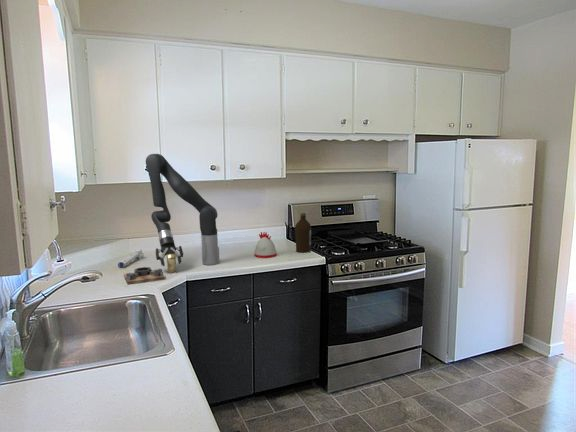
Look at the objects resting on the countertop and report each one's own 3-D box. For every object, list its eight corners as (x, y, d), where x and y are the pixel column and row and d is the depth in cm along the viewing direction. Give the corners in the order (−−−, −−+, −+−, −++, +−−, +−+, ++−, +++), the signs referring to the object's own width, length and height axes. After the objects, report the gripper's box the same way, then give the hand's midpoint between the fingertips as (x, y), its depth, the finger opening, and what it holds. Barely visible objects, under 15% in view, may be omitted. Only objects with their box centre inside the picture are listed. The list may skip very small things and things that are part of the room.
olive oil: (295, 253, 264) (295, 214, 261) (294, 249, 275) (294, 212, 271) (312, 252, 265) (312, 214, 261) (310, 249, 275) (310, 212, 272)
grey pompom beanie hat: (261, 252, 269) (260, 229, 267) (280, 254, 263) (279, 231, 261) (250, 257, 256) (249, 233, 254) (269, 259, 250) (269, 234, 248)
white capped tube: (116, 261, 233) (136, 246, 257) (117, 272, 235) (137, 256, 259) (124, 262, 232) (144, 246, 256) (126, 273, 234) (145, 256, 258)
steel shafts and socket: (158, 269, 223) (158, 264, 223) (163, 275, 212) (163, 270, 211) (124, 274, 215) (123, 269, 215) (127, 280, 204) (127, 275, 203)
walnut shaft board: (159, 272, 224) (158, 269, 224) (165, 279, 210) (165, 276, 210) (123, 276, 216) (123, 274, 216) (127, 284, 202) (127, 281, 202)
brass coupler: (175, 270, 227) (174, 252, 225) (177, 272, 223) (176, 254, 221) (166, 271, 224) (165, 253, 223) (168, 273, 220) (167, 255, 219)
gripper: (153, 237, 224) (158, 262, 216) (180, 234, 231) (186, 258, 222) (152, 244, 230) (157, 269, 221) (178, 242, 236) (184, 266, 228)
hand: (171, 264), depth 222 cm, fingers open, 8 cm apart
